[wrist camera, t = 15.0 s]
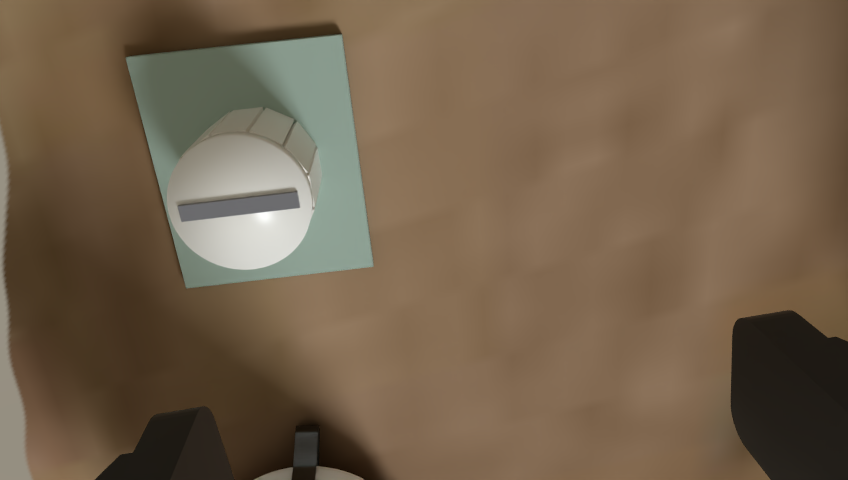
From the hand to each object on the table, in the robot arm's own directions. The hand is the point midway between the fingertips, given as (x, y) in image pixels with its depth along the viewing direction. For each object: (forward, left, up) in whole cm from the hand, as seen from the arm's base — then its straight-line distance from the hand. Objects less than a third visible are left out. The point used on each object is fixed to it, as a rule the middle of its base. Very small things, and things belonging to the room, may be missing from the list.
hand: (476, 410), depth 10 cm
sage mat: (-3, +8, -25) cm, 26 cm away
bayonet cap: (-3, +8, -24) cm, 26 cm away
